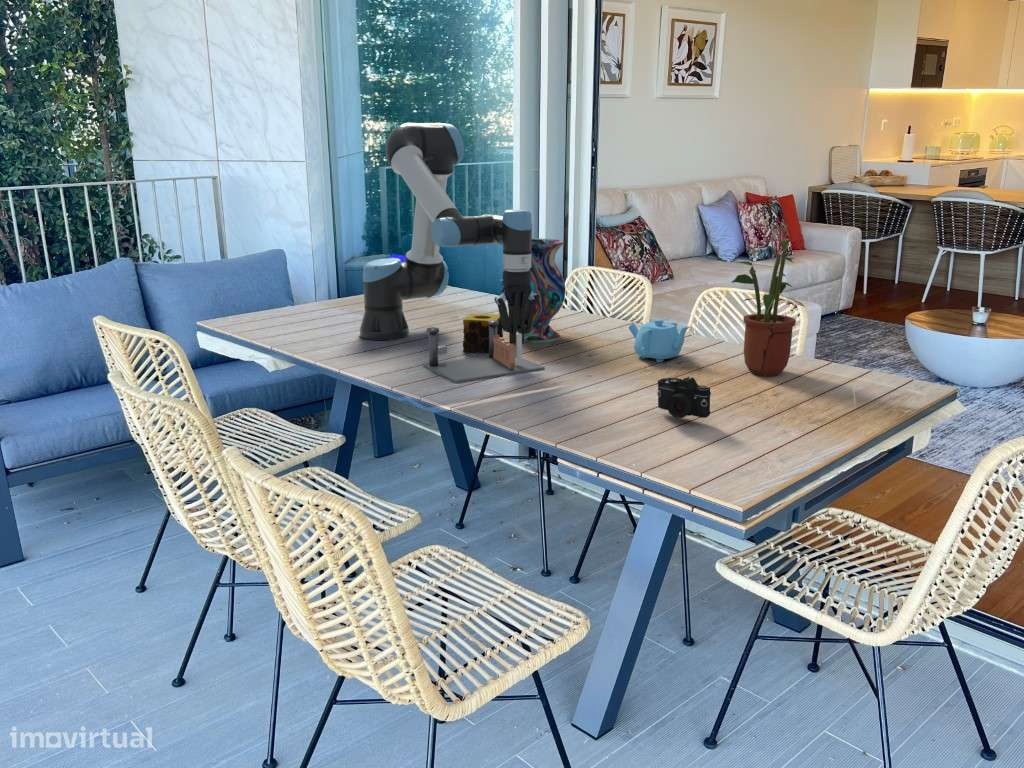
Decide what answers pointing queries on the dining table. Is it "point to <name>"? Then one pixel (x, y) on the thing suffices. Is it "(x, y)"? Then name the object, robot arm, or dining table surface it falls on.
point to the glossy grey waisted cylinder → (492, 335)
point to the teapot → (658, 340)
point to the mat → (480, 368)
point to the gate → (504, 352)
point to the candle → (479, 332)
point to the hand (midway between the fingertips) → (516, 356)
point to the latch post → (434, 347)
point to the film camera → (684, 397)
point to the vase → (545, 290)
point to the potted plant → (767, 324)
